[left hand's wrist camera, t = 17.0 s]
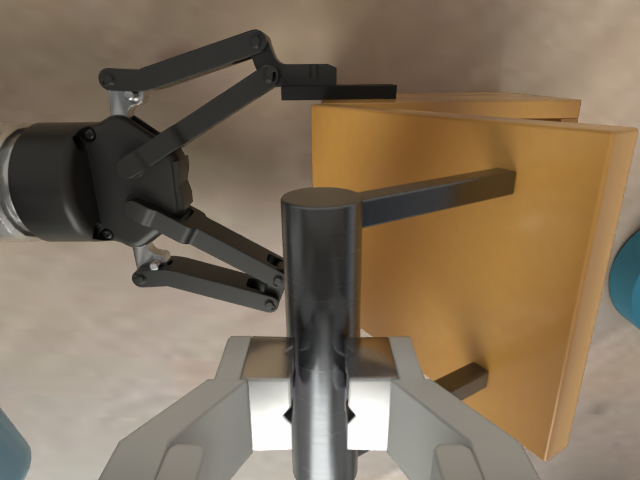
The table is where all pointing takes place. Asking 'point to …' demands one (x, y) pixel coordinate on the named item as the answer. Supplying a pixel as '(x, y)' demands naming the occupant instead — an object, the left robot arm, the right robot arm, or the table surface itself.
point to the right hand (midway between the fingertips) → (389, 181)
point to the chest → (479, 105)
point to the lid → (450, 263)
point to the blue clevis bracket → (627, 281)
